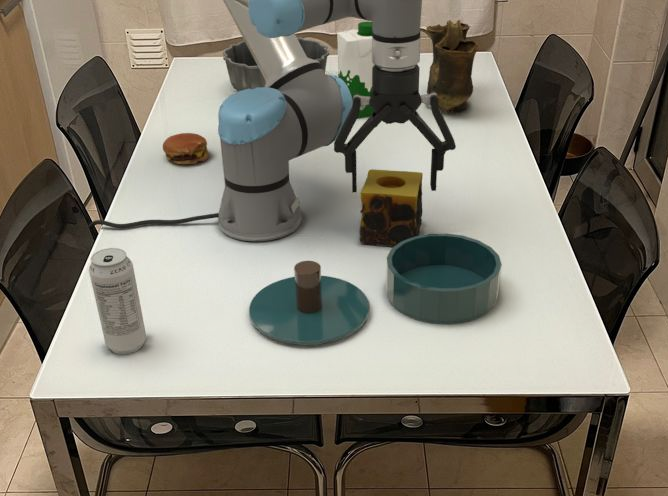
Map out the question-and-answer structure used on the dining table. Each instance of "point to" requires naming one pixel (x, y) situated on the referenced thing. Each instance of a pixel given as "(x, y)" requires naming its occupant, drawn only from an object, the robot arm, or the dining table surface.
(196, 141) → the burger
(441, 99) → the pottery vessel
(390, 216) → the candle
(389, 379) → the dining table surface
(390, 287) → the pot
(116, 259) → the energy drink can
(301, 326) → the lid
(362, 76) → the milk carton
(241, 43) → the bundt pan
